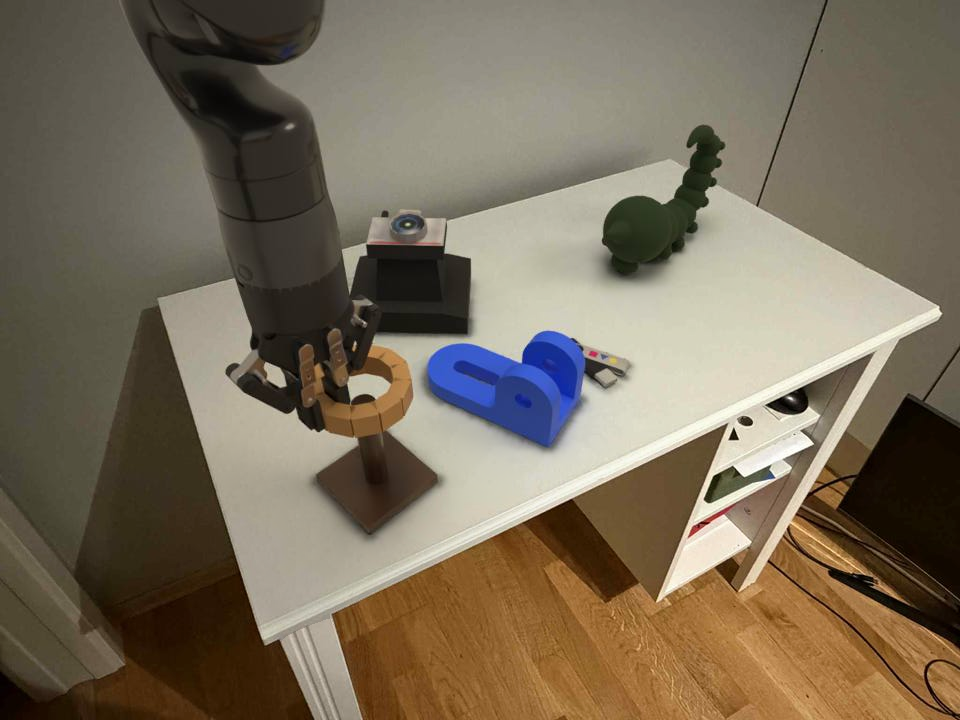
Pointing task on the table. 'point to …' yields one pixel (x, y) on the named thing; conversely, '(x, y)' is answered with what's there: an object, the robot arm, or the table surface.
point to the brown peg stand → (376, 477)
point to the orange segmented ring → (371, 414)
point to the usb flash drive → (602, 364)
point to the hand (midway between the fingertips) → (326, 417)
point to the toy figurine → (663, 211)
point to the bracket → (513, 383)
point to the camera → (414, 275)
